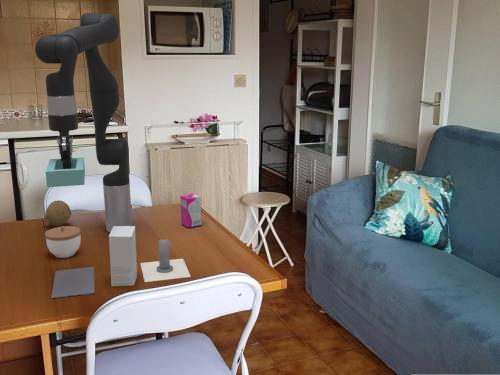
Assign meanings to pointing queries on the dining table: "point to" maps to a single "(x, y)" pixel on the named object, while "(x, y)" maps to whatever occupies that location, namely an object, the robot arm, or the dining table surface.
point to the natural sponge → (57, 213)
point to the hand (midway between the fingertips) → (68, 174)
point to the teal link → (65, 173)
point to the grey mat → (73, 282)
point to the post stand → (164, 266)
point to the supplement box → (191, 210)
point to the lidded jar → (63, 241)
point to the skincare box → (123, 255)
